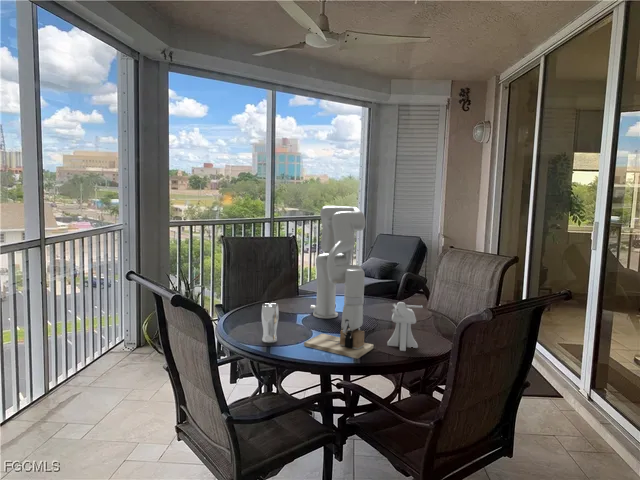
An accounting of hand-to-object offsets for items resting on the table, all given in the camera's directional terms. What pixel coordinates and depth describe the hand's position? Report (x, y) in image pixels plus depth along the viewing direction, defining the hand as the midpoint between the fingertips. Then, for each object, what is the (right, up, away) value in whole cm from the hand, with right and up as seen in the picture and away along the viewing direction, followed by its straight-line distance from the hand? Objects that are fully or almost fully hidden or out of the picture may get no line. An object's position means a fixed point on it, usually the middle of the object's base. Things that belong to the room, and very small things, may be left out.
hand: (352, 345), depth 173 cm
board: (-5, -2, +3) cm, 6 cm away
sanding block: (0, 0, 0) cm, 0 cm away
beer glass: (-33, 0, +9) cm, 34 cm away
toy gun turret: (+22, -2, +7) cm, 23 cm away
